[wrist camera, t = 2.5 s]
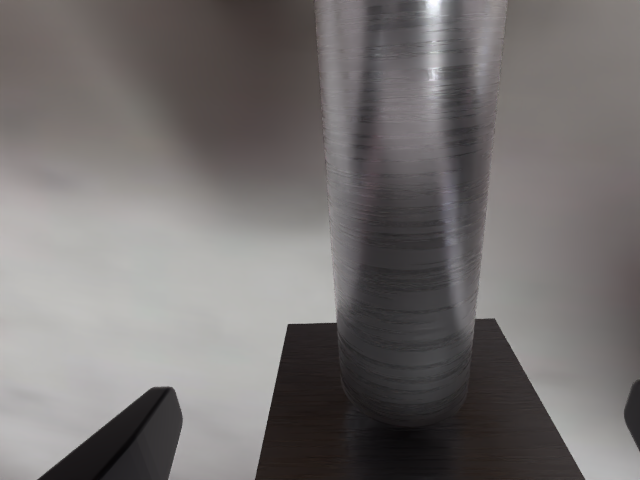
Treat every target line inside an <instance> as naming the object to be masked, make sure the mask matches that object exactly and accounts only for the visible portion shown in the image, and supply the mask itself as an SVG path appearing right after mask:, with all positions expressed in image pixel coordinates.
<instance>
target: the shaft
mask: <svg viewBox="0 0 640 480" xmlns="http://www.w3.org/2000/svg"><path fill="white" fill-rule="evenodd" d="M507 3H508V0H314V7H315V21H316V35H317V49H318V63H319V78H320V92H321V106H322V120H323V134H324V148H325V163H326V177H327V191H328V205H329V219H330V233H331V248H332V262H333V276H334V290H335V304H336V318H337V323H313V324H288V327H287V331H286V336H285V341H284V345H283V350H282V355H281V360H280V364H279V369H278V374H277V378H276V383H275V388H274V393H273V397H272V402H271V407H270V411H269V416H268V421H267V426H266V430H265V435H264V440H263V445H262V449H261V454H260V459H259V463H258V468H257V473H256V478H255V480H585V478H584V477H583V475H582V473H581V471H580V470H579V468H578V466H577V464H576V462H575V461H574V459H573V457H572V455H571V454H570V452H569V450H568V448H567V446H566V445H565V443H564V441H563V439H562V438H561V436H560V434H559V432H558V430H557V429H556V427H555V425H554V423H553V422H552V420H551V418H550V416H549V414H548V413H547V411H546V409H545V407H544V406H543V404H542V402H541V400H540V398H539V397H538V395H537V393H536V391H535V390H534V388H533V386H532V384H531V382H530V381H529V379H528V377H527V375H526V374H525V372H524V370H523V368H522V366H521V365H520V363H519V361H518V359H517V358H516V356H515V354H514V352H513V350H512V349H511V347H510V345H509V343H508V342H507V340H506V338H505V336H504V334H503V333H502V331H501V329H500V327H499V326H498V324H497V322H496V320H495V319H475V316H476V306H477V296H478V286H479V276H480V267H481V257H482V247H483V237H484V227H485V218H486V208H487V198H488V188H489V179H490V169H491V159H492V149H493V139H494V130H495V120H496V110H497V100H498V91H499V81H500V71H501V61H502V51H503V42H504V32H505V22H506V12H507Z"/></svg>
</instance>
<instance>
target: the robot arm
mask: <svg viewBox="0 0 640 480" xmlns="http://www.w3.org/2000/svg"><path fill="white" fill-rule="evenodd" d="M624 418H625V422H626V425H627V427H628V429H629V431H630V433H631V435H632V437H633V439H634V441H635V443H636V445H637V447H638V449H639V451H640V380H637V381H635V382H634V383H633V385H632V388H631V391H630V394H629V397H628V400H627V403H626V406H625V410H624ZM182 423H183V417H182V412H181V409H180V406H179V402H178V399H177V396H176V392H175V390H174V389H173V388H172V387H153V388H151V389H150V390H148V391H147V392H146V393H144V394H143V395H142V396H141V397H139V398H138V399H137V400H136V401H134V402H133V403H132V404H131V405H129V406H128V407H127V408H126V409H125V410H123V411H122V412H121V413H120V414H118V415H117V416H116V417H115V418H113V419H112V420H111V421H110V422H108V423H107V424H106V425H105V426H103V427H102V428H101V429H100V430H98V431H97V432H96V433H95V434H93V435H92V436H91V437H90V438H88V439H87V440H86V441H85V442H83V443H82V444H81V445H80V446H78V447H77V448H76V449H75V450H73V451H72V452H71V453H70V454H68V455H67V456H66V457H65V458H63V459H62V460H61V461H60V462H59V463H57V464H56V465H55V466H54V467H52V468H51V469H50V470H49V471H47V472H46V473H45V474H44V475H42V476H41V477H40V478H39V479H37V480H168V478H169V474H170V470H171V466H172V463H173V459H174V455H175V451H176V447H177V444H178V440H179V436H180V432H181V428H182Z"/></svg>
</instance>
